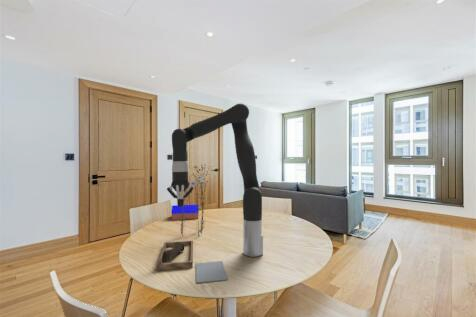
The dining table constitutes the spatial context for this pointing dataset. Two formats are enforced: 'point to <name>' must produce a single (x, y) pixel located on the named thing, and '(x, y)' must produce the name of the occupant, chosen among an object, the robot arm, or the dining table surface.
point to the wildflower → (197, 201)
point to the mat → (210, 272)
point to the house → (185, 212)
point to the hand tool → (172, 252)
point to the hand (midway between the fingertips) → (180, 206)
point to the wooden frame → (175, 264)
